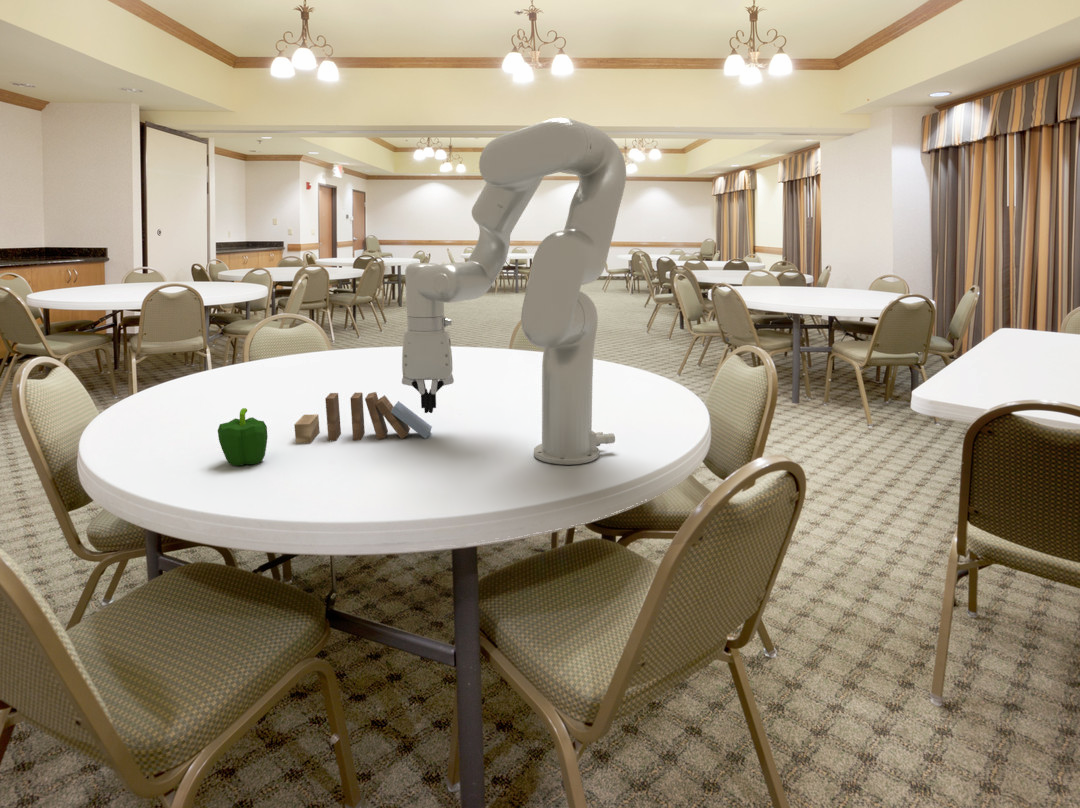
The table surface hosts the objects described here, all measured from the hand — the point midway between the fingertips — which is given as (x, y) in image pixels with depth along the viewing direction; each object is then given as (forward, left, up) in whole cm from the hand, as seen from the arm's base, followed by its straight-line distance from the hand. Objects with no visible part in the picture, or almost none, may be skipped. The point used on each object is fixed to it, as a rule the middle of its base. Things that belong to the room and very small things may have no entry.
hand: (428, 411), depth 149 cm
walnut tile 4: (+19, -5, -5) cm, 20 cm away
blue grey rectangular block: (0, 0, -5) cm, 5 cm away
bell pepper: (+36, +7, -6) cm, 37 cm away
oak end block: (+24, -6, -5) cm, 26 cm away
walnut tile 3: (+14, -4, -5) cm, 16 cm away
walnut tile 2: (+9, -2, -5) cm, 11 cm away
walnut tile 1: (+5, -1, -5) cm, 7 cm away
